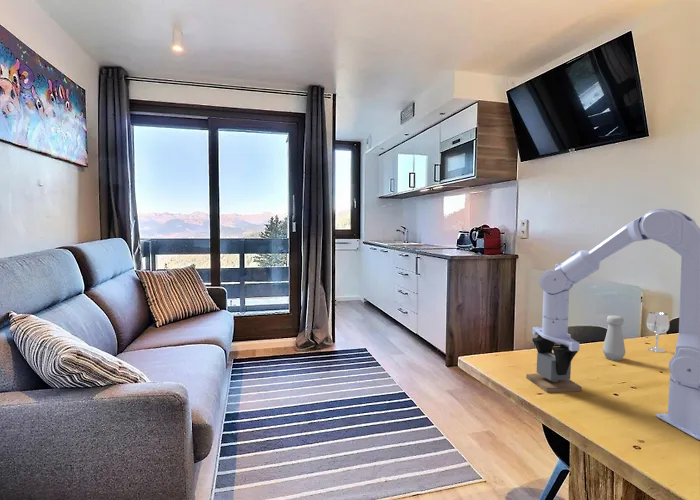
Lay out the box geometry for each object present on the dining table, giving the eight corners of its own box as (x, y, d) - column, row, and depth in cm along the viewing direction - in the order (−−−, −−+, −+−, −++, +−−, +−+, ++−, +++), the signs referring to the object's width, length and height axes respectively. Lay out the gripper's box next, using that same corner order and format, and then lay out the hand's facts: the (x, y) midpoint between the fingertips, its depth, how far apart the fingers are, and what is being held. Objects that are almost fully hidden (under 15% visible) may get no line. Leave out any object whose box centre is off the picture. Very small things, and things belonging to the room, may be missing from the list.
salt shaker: (628, 362, 114) (631, 318, 113) (607, 361, 115) (609, 318, 114) (619, 356, 120) (621, 314, 119) (598, 354, 121) (600, 313, 120)
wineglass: (640, 348, 127) (642, 312, 127) (653, 346, 129) (655, 310, 128) (659, 353, 122) (661, 316, 121) (672, 352, 124) (674, 314, 123)
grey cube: (570, 379, 96) (571, 358, 96) (550, 380, 95) (551, 360, 95) (555, 371, 102) (555, 351, 101) (536, 372, 101) (537, 353, 100)
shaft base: (581, 390, 95) (582, 373, 94) (546, 392, 94) (547, 375, 93) (558, 376, 103) (558, 361, 103) (526, 377, 103) (526, 362, 102)
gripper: (591, 323, 91) (589, 380, 92) (549, 310, 105) (548, 359, 106) (565, 325, 90) (563, 382, 91) (526, 311, 104) (524, 360, 105)
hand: (553, 370), depth 98 cm, fingers closed on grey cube, 5 cm apart
